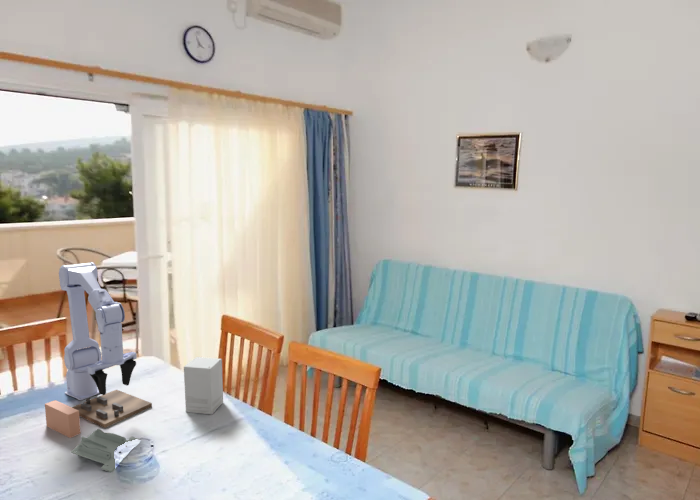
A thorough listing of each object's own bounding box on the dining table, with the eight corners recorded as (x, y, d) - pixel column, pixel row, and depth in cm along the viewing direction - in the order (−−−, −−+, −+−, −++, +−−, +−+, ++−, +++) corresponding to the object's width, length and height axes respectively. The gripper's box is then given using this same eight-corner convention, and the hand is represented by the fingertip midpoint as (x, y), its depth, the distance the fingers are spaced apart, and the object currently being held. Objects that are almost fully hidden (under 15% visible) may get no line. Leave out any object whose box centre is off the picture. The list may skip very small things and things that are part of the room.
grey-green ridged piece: (63, 448, 127) (98, 419, 142) (59, 469, 128) (94, 437, 143) (117, 467, 127) (146, 435, 141) (112, 487, 128) (142, 454, 142)
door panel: (46, 426, 149) (44, 403, 147) (57, 422, 151) (55, 400, 150) (70, 438, 142) (68, 414, 141) (80, 433, 145) (78, 410, 144)
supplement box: (224, 402, 165) (223, 358, 163) (212, 415, 157) (210, 368, 154) (198, 399, 167) (196, 355, 165) (184, 412, 158) (182, 366, 156)
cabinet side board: (69, 411, 157) (68, 403, 157) (116, 392, 171) (116, 385, 170) (104, 428, 148) (104, 419, 148) (151, 406, 161) (151, 398, 161)
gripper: (97, 355, 141) (100, 401, 143) (142, 340, 153) (144, 383, 155) (81, 350, 144) (85, 395, 147) (127, 336, 157) (129, 378, 159)
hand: (114, 389), depth 151 cm, fingers open, 7 cm apart
